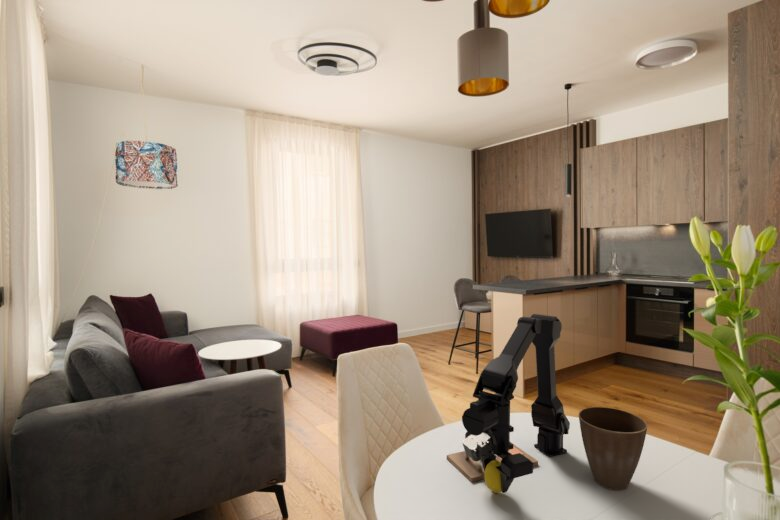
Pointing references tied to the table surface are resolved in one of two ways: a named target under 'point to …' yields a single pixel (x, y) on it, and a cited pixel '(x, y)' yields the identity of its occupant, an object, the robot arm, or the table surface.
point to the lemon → (493, 476)
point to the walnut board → (476, 464)
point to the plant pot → (612, 444)
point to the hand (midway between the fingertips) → (496, 485)
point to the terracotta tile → (513, 452)
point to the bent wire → (480, 465)
